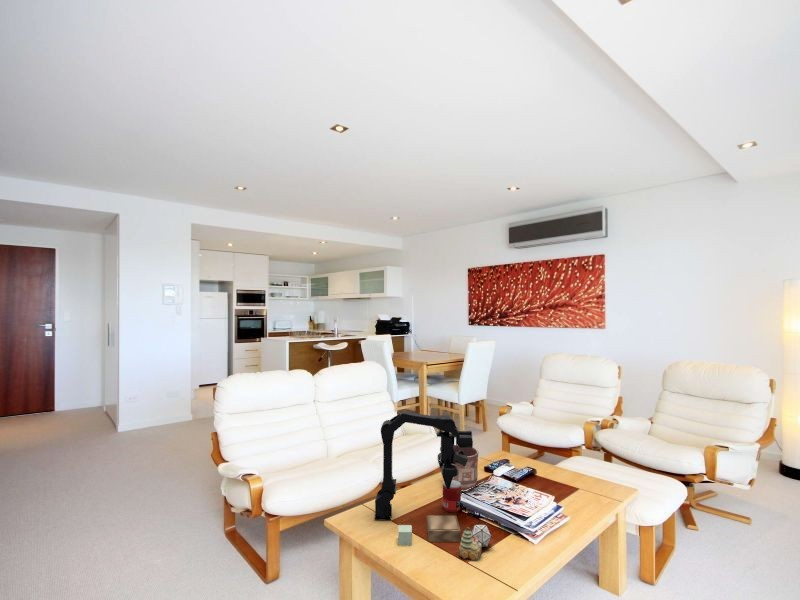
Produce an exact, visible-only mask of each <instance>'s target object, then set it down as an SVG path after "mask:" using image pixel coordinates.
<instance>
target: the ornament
mask: <svg viewBox="0 0 800 600" xmlns="http://www.w3.org/2000/svg"><path fill="white" fill-rule="evenodd" d="M471 532H472V530H471V528H470V527H469V526H467V527H465V530H463V533H462V534H461V535H462V536H461V542H459V543H460V544H459V547H458V556H459V558H460V557H461V558H462V559H470V560H471V561H477V560H479V558H481V553H482V547H481V543H479V542H478V539H477V538H473V537H472V534H471Z"/></svg>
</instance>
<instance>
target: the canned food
mask: <svg viewBox="0 0 800 600" xmlns="http://www.w3.org/2000/svg"><path fill="white" fill-rule="evenodd" d="M460 500H461V501H462V492H461V483H460V482H458V481H456V480H452V482H451V486H450V489H447V488H446V485H445V482H444V481H442V508H443V510H444V511H446V512H450V513H456V512H459V511H460V510H461V508H460Z"/></svg>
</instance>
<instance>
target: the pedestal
mask: <svg viewBox="0 0 800 600" xmlns="http://www.w3.org/2000/svg"><path fill="white" fill-rule="evenodd" d="M426 531H427V537H428V538H427V539H428V542H434V543H437V542H438V543H441V542H443V543H444V542H445V543H447V542H448V543H449V542H450V543H452V542H455V543H461V541H462V540H461V538H462V536H461V535H462V533H461V531H462V530H461V527H460V524H459V520H458V517H457V515H432V514H431V515H428V514H427V515H426Z"/></svg>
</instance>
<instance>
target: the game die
mask: <svg viewBox="0 0 800 600" xmlns="http://www.w3.org/2000/svg"><path fill="white" fill-rule="evenodd" d="M472 525H473V526H472V529H471V534H472V537H473V538H477V539H478V542H479V543H481V548H482V547H485V548H487V549H489V544H490V542H491V539H493V538H494V536H493V535H492V534H491V533H490V530H489V528H488V522H486V523H485V524H476V523H475V522H472Z"/></svg>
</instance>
